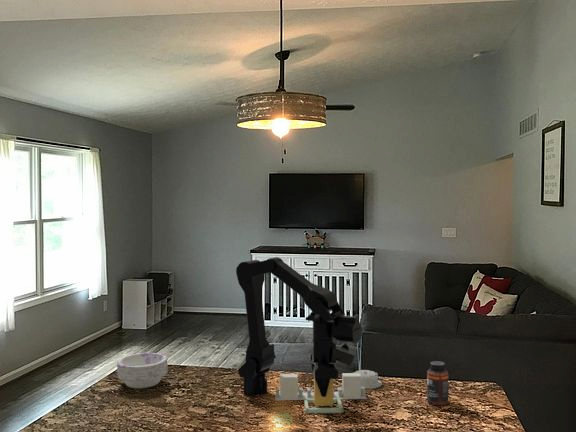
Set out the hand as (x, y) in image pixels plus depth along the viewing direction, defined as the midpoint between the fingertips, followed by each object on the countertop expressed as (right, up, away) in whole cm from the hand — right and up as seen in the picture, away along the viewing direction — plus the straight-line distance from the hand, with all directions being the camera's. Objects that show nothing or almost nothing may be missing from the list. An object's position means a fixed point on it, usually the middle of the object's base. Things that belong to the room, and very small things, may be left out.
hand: (323, 394), depth 161 cm
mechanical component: (+14, -4, +20) cm, 25 cm away
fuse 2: (+9, -3, +9) cm, 13 cm away
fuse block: (0, -4, +9) cm, 10 cm away
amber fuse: (0, -3, 0) cm, 3 cm away
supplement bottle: (+33, -4, +6) cm, 34 cm away
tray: (0, -5, 0) cm, 4 cm away
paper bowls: (-55, -4, +23) cm, 60 cm away
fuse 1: (-9, -3, +9) cm, 13 cm away
